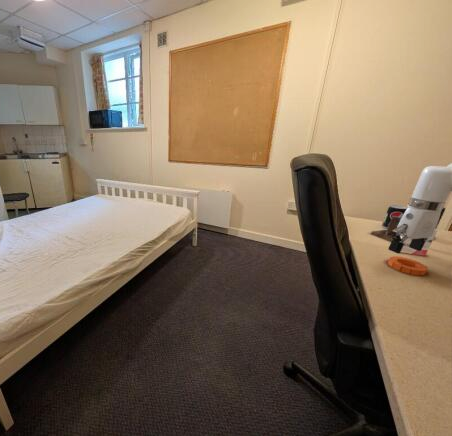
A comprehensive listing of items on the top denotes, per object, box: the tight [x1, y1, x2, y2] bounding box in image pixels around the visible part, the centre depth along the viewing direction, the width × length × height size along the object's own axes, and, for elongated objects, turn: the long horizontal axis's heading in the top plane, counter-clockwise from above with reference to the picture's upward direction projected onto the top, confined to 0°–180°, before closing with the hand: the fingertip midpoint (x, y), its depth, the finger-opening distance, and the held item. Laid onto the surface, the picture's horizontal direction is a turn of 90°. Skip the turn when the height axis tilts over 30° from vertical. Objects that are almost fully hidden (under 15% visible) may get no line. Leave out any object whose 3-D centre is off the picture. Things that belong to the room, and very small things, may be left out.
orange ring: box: [387, 255, 428, 276], centre depth 81 cm, size 10×10×2 cm
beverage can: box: [381, 204, 408, 230], centre depth 114 cm, size 7×7×12 cm
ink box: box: [400, 228, 438, 257], centre depth 91 cm, size 8×5×12 cm, turn 66°
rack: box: [370, 216, 400, 242], centre depth 105 cm, size 9×9×10 cm
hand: (404, 250), depth 78 cm, fingers open, 9 cm apart
